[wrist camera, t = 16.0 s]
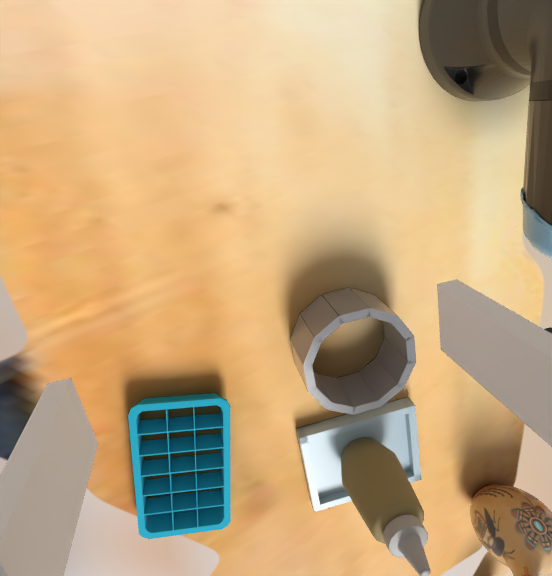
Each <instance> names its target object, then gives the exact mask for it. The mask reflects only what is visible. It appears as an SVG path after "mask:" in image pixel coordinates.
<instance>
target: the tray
mask: <svg viewBox="0 0 552 576" xmlns="http://www.w3.org/2000/svg"><path fill="white" fill-rule="evenodd" d="M296 432H297V437H298V442H299V447H300V451H301V456H302V461H303V466H304V471H305V476H306V481H307V486H308V491H309V495H310V500H311V504H312V507H313V509H314V512H316V511H320V510H323V509H326V508H330V507H333V506H336V505H339V504H343V503H346V502H349V501H352V500H351V498H350V496H349V495H348V493H347V491H346V490H345V488H344V486H343V485H342V475H341V455H342V452H343V450H344V448H345V447H346V446H347V445H348V444H349V443H350V442H352V441H353V440H355V439H358V438H362V437H369V438H373V439H375V440H376V441H378V442H380V443H381V444H382V445H384V446H385V447H387V448H388V449H390V450H391V451H393V452H394V453H395V455H396V456H397V458H398V460H399V461H400V463H401V465H402V468H403V470H404V472H405V474H406V476H407V478H408V480H409V482H410V483H411V482H414V481H418V480H421V471H420V458H419V446H418V433H417V421H416V408H415V404H414V403H413V402H412V401H411V400H410V398H409V397H406V398H403V399H399V400H396V401H392V402H389V403H385V404H384V405H383V406H382V407H379V408H375V409H372V410H368V411H365V412H361V413H358V414H354V415H352V414H346V415H343V416H339V417H336V418H332V419H329V420H325V421H321V422H318V423H314V424H311V425H307V426H304V427H300V428H297V429H296Z"/></svg>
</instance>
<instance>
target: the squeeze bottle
mask: <svg viewBox="0 0 552 576" xmlns="http://www.w3.org/2000/svg"><path fill="white" fill-rule="evenodd" d="M341 475H342V485H343V486H344V488H345V490H346V491H347V493H348V495H349V496H350V498H351V500H352V501H353V503H354V505H355V506H356V508H357V510H358V511H359V513H360V515H361V516H362V518H363V520H364V521H365V523H366V525H367V526H368V528H369V530H370V531H371V533H372V535H373V536H374V537H375V539H376V540H377V541H379V542H382V543H384V544H386V546H387V548H388V550H389V551H390V553H391V554H392V555H394V556H396V557H399V558H406V559H407V560H408V562H409V563H410V564H411V565H412V566H413V568H414V569H415V570H416V571H417V573H418V574H419V575H420V576H428V575H429V574H430V568H429V565H428V561H427V558H426V555H425V552H424V549H423V547H424V546H425V544H426V542H427V539H428V533H427V531H426V530H425V528H424V526H423V525H422V522H423V520H424V511H423V509H422V507H421V505H420V503H419V501H418V499H417V496H416V494H415V492H414V490H413V488H412V486H411V484H410V482H409V480H408V478H407V476H406V474H405V472H404V470H403V468H402V465H401V463H400V461H399V460H398V458H397V456H396V455H395V453H394V452H393V451H391V450H390V449H388V448H387V447H385V446H384V445H382V444H381V443H380V442H378V441H376V440H375V439H373V438H369V437H362V438H358V439H355V440H353V441H352V442H350V443H349V444H348V445H347V446H346V447H345V448H344V450H343V452H342V455H341Z"/></svg>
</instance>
